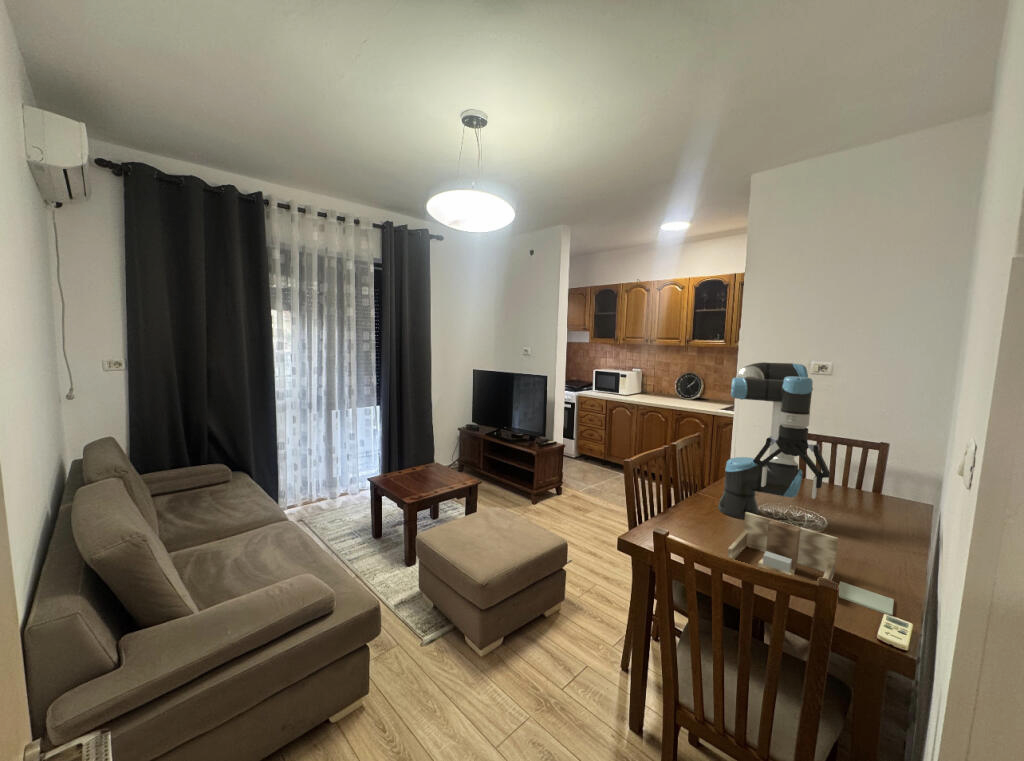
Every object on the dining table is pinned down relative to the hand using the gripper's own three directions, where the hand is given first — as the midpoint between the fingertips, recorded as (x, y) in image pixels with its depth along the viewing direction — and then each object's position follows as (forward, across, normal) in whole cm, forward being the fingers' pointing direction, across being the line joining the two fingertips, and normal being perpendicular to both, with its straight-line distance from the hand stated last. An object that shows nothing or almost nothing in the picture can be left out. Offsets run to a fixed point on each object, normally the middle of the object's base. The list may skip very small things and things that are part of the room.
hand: (787, 491), depth 131 cm
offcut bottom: (+26, 0, -6) cm, 27 cm away
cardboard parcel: (+25, 0, 0) cm, 25 cm away
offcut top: (+23, 0, -6) cm, 24 cm away
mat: (+25, +21, -2) cm, 33 cm away
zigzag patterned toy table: (+25, 0, -2) cm, 25 cm away
